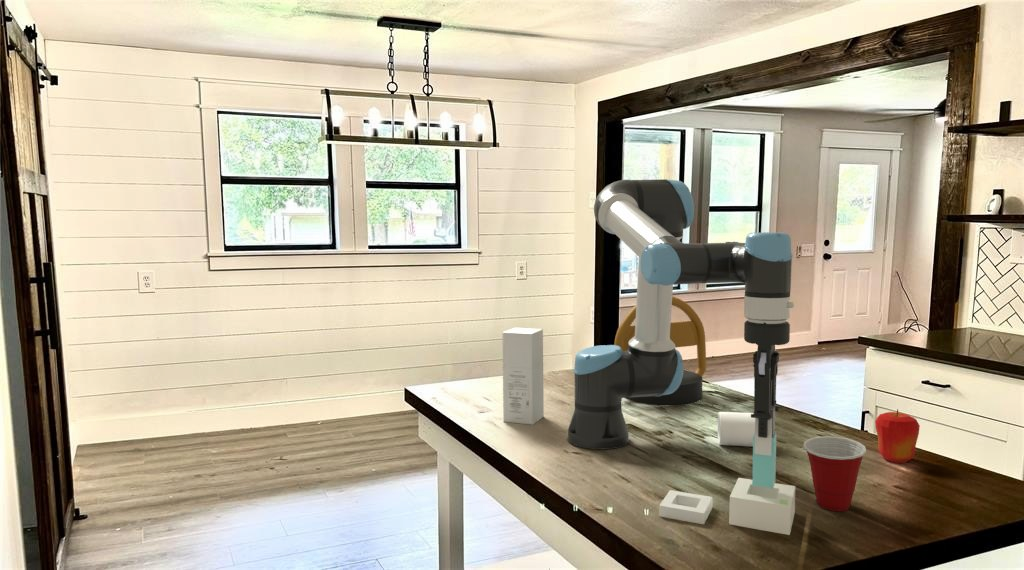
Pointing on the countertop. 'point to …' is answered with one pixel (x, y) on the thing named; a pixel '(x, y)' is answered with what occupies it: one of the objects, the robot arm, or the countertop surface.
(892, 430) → the apple
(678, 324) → the chair
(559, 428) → the countertop surface
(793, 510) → the port
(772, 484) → the plug
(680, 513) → the holster
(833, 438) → the plastic cup
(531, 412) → the tall white carton
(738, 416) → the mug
